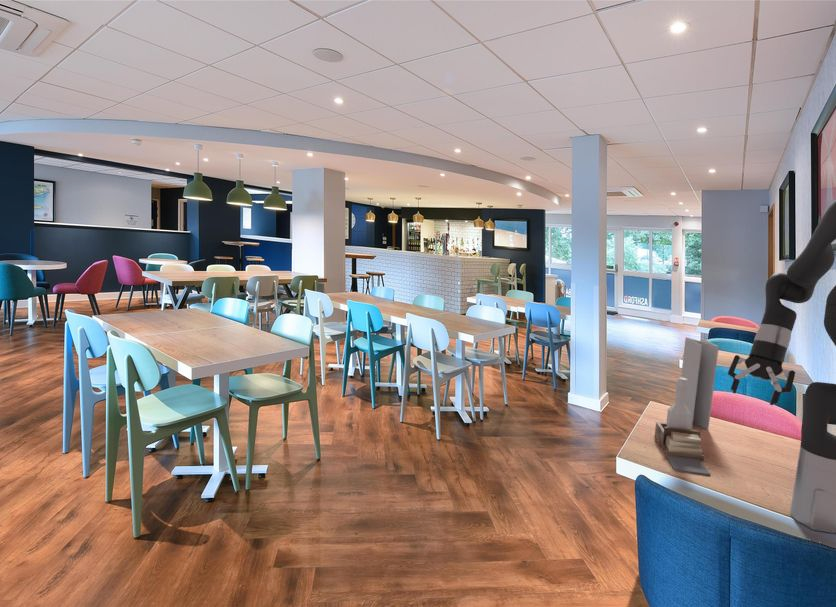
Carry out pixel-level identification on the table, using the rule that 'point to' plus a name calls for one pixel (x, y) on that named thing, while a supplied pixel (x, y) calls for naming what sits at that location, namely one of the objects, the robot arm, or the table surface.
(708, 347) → the brochure
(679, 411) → the low poly bottle
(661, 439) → the offcut rack
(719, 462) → the table surface
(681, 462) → the mat
